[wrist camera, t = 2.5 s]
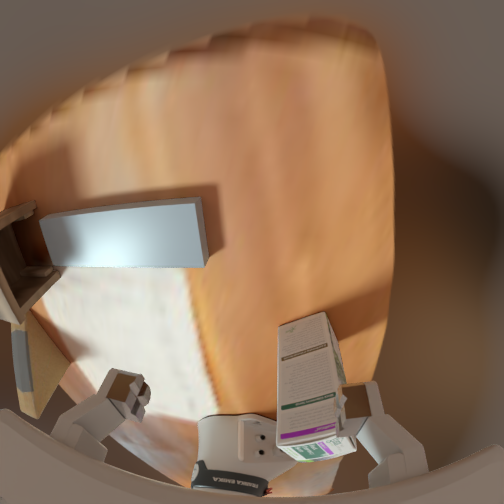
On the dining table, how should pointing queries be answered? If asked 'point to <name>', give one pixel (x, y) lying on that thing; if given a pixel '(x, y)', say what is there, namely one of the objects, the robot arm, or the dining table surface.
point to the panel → (129, 235)
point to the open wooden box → (19, 270)
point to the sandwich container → (35, 365)
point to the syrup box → (309, 390)
